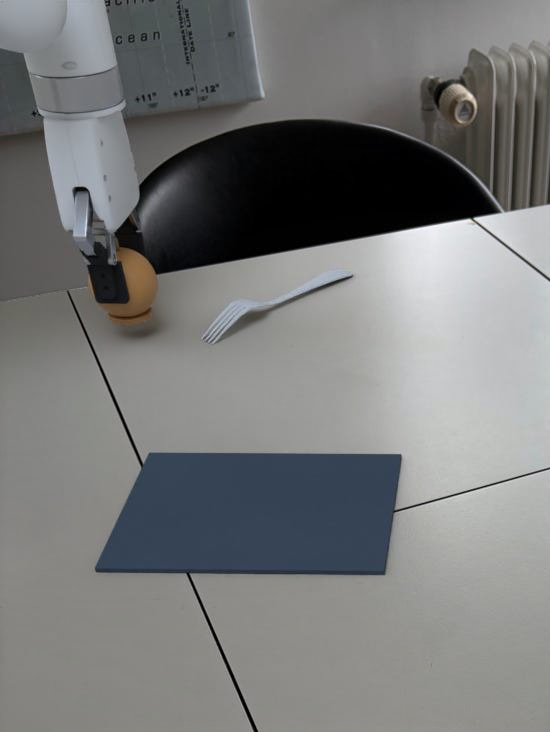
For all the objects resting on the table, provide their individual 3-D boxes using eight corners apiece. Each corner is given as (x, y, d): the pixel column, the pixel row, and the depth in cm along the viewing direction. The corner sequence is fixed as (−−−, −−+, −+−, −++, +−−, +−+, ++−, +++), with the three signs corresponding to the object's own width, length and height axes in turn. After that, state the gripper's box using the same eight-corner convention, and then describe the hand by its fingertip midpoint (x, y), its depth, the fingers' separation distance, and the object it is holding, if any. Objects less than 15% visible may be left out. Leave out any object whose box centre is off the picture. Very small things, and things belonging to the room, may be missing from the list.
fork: (357, 296, 119) (357, 272, 117) (216, 346, 105) (213, 319, 104) (339, 290, 120) (339, 266, 118) (197, 338, 107) (194, 311, 105)
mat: (95, 572, 79) (94, 568, 79) (150, 456, 91) (149, 452, 90) (384, 574, 78) (384, 570, 78) (401, 457, 90) (401, 453, 90)
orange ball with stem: (88, 330, 103) (67, 249, 98) (108, 302, 108) (89, 223, 103) (154, 331, 103) (137, 250, 98) (171, 302, 108) (155, 224, 103)
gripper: (67, 64, 98) (111, 252, 110) (0, 118, 85) (58, 324, 97) (146, 65, 98) (182, 253, 110) (90, 119, 85) (138, 325, 97)
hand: (123, 285), depth 104 cm, fingers closed on orange ball with stem, 6 cm apart
